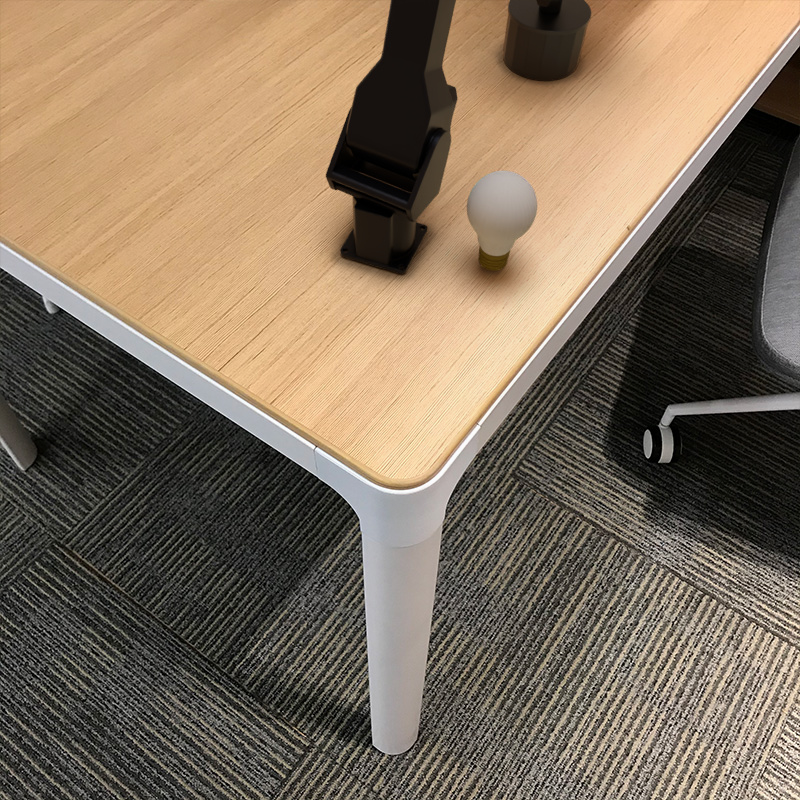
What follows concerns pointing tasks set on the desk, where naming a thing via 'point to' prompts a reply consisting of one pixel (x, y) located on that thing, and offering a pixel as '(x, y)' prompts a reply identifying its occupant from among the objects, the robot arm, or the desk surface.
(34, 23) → the desk surface
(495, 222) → the light bulb
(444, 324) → the desk surface
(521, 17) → the bin lid
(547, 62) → the bin
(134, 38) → the desk surface
